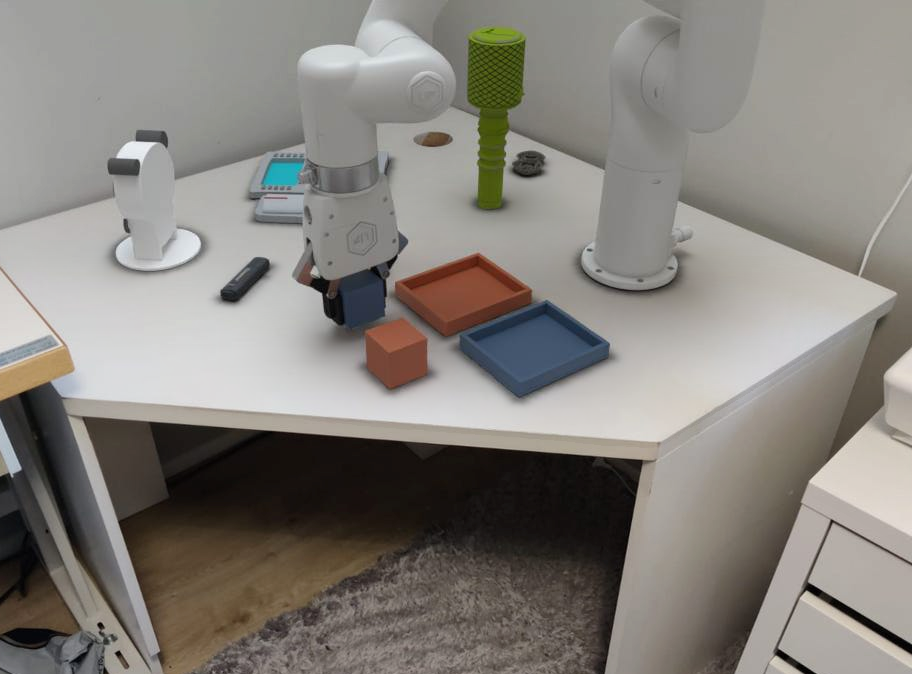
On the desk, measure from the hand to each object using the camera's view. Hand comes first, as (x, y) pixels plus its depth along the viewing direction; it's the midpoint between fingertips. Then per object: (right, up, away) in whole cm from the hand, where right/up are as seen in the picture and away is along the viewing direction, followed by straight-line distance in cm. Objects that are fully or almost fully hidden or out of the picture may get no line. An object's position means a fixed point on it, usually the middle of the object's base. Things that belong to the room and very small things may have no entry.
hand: (356, 310), depth 106 cm
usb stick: (-15, +4, +10) cm, 19 cm away
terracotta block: (+5, -7, -5) cm, 10 cm away
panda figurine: (-29, +10, +17) cm, 35 cm away
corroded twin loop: (+25, +27, +38) cm, 52 cm away
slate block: (0, 0, 0) cm, 0 cm away
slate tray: (+21, -5, -2) cm, 22 cm away
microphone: (+18, +18, +27) cm, 38 cm away
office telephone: (-9, +21, +31) cm, 39 cm away
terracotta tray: (+13, +2, +7) cm, 15 cm away
